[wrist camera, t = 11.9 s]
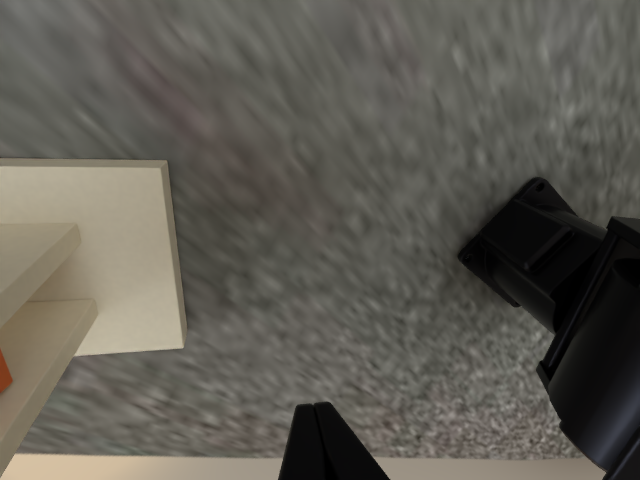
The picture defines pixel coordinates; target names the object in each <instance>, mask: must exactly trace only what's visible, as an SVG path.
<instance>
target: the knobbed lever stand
mask: <svg viewBox="0 0 640 480" xmlns="http://www.w3.org/2000/svg"><path fill="white" fill-rule="evenodd" d="M186 335H187V322H186V314H185V305H184V297H183V289H182V280H181V272H180V264H179V255H178V247H177V238H176V230H175V222H174V213H173V205H172V197H171V188H170V180H169V171H168V163H167V160H109V159H33V158H0V348H1V351H2V354H3V356H4V359H5V361H6V364H7V366H8V369H9V372H10V374H11V377H12V379H13V382H12V383H11V384H10V385H9V386H8V387H7V388H6V389H4V390H3V391H2V392H1V393H0V477H1V476H2V474H3V472H4V471H5V469H6V467H7V466H8V464H9V462H10V461H11V459H12V457H13V456H14V454H15V453H16V451H17V449H18V448H19V446H20V444H21V443H22V441H23V439H24V438H25V436H26V434H27V433H28V431H29V429H30V428H31V426H32V424H33V423H34V421H35V419H36V418H37V416H38V414H39V413H40V411H41V409H42V408H43V406H44V404H45V403H46V401H47V399H48V398H49V396H50V394H51V393H52V391H53V389H54V388H55V386H56V384H57V383H58V381H59V380H60V378H61V376H62V375H63V373H64V371H65V370H66V368H67V366H68V365H69V363H70V361H71V360H72V358H73V356H82V355H96V354H109V353H123V352H137V351H151V350H165V349H179V348H184V344H185V340H186Z"/></svg>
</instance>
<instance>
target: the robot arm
mask: <svg viewBox="0 0 640 480" xmlns="http://www.w3.org/2000/svg"><path fill="white" fill-rule="evenodd" d="M538 184H539V187H538V188H537V189H536V187H537V185H538ZM606 228H607V229H608V231H607V230H605V229H603V228H601V227H599V226H596V225H594V224H592V223H590V222H588V221H586V220H583V219H581V218H579V217H578V216H577V215H576V214H575V213H574V211H573V210H572V209H571V208H570V207H569V206H568V205H567V203H566V202H565V201H564V200H563V199H562V198H561V196H560V195H559V194H558V193H557V192H556V191H555V189H554V188H553V187H552V186H551V185H550V184H549V182H548V181H547V180H545V179H543V178H540V177H536V178H533V179H532V180H531V181H530V182H529V183H528V184H527V185H526V186H525V187H524V188H523V189H522V190H521V191H520V192H519V193H518V194H517V195H516V196H515V197H514V198H513V199H512V200H511V201H510V202H509V203H508V204H507V205H506V206H505V207H504V208H503V209H502V210H501V211H500V212H499V213H498V214H497V215H496V216H495V217H494V218H493V219H492V220H491V221H490V222H489V223H488V224H487V225H486V226H485V227H484V228H483V229H482V230H481V231H480V232H479V233H478V234H477V235H476V236H475V237H474V238H473V239H472V240H471V241H470V242H469V243H468V244H467V245H466V246H465V247H464V248H463V249H462V250H461V251H460V253H459V255H458V259H459V261H460V262H461V263H462V264H463V265H464V266H466V267H467V268H468V269H469V270H470V271H472V272H473V273H474V274H475V275H476V276H478V277H479V278H480V279H481V280H482V281H483V282H485V283H486V284H487V285H488V286H489V287H491V288H492V289H493V290H494V291H495V292H496V293H498V294H499V295H500V296H501V297H502V298H504V299H505V300H506V301H507V302H508V303H510V304H511V305H512V306H513V307H520V306H522V307H523V308H524V309H525V310H526V311H527V312H529V313H530V314H531V315H532V316H533V317H534V318H535V319H537V320H538V321H539V322H540V323H541V324H542V325H543V326H544V327H546V328H547V329H548V330H549V331H550V332H551V333H552V334H554V335H555V337H554V339H553V341H552V343H551V345H550V347H549V349H548V351H547V353H546V355H545V357H544V359H543V360H542V361H540V362H539V364H538V366H537V368H536V371H537V373H538V375H539V377H540V379H541V381H542V383H543V385H544V387H545V389H546V391H547V393H548V395H549V398H550V401H551V403H552V405H553V407H554V409H555V411H556V412H557V414H558V416H559V418H560V419H561V422H560V424H559V427H560V429H561V430H562V432H563V433H564V435H565V436H566V437H567V438H568V439H569V440H570V441H571V442H572V443H573V444H574V445H575V447H576V448H577V449H578V450H580V451H581V452H582V453H583V454H584V455H585V456H586V457H587V458H588V459H590V460H591V461H592V462H593V463H594V464H595V465H597V466H598V467H599V468H601V469H602V470H603V471H605V472H606V474H605V476H604V477H603V479H602V480H640V219H635V218H625V217H615V216H612V217H611V219H610V221H609V223H608V225H607V227H606ZM467 255H469V257H468V258H467V259H465V258H466V256H467ZM278 480H390V479H389V478H388V477H387V475H386V474H385V472H384V471H383V470H382V469H381V467H380V466H379V465H378V463H377V462H376V461H375V459H374V458H373V457H372V456H371V454H370V453H369V452H368V450H367V449H366V448H365V447H364V445H363V444H362V443H361V441H360V440H359V439H358V438H357V436H356V435H355V434H354V432H353V431H352V430H351V428H350V427H349V426H348V425H347V423H346V422H345V421H344V419H343V418H342V417H341V416H340V414H339V413H338V412H337V410H336V409H335V408H334V407H333V405H332V404H331V403H330V402H319V403H315V404H314V405H312V404H310V403H309V404H300V405H297V406H296V408H295V412H294V416H293V420H292V424H291V429H290V433H289V437H288V441H287V445H286V449H285V453H284V457H283V462H282V466H281V470H280V474H279V478H278Z"/></svg>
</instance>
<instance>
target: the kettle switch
mask: <svg viewBox="0 0 640 480" xmlns="http://www.w3.org/2000/svg"><path fill="white" fill-rule="evenodd" d="M12 382H13V379H12V377H11V374H10V372H9V369H8V366H7V364H6V361H5V359H4V356H3V354H2V351H1V348H0V393H1V392H2V391H3V390H4V389H6V388H7V387H8V386H9V385H10V384H11V383H12Z"/></svg>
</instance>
